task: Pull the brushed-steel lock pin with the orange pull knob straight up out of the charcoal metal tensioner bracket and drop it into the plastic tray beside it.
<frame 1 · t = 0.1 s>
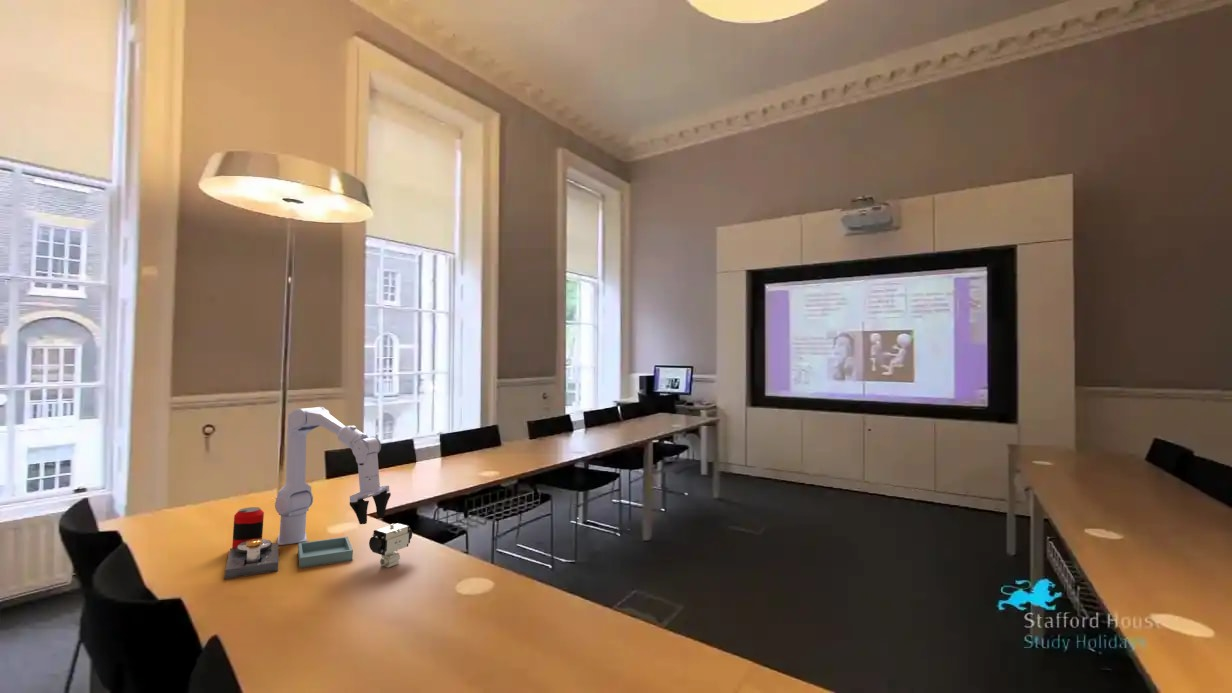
hand: (372, 520, 160), 11 cm above the table, tool pointing down, fingers open, 7 cm apart
soda can: (247, 549, 161), on the table
pneumatic valve: (390, 566, 153), on the table
tray: (324, 556, 157), on the table
lock pin: (252, 569, 146), resting in tensioner bracket
tensioner bracket: (253, 563, 150), on the table
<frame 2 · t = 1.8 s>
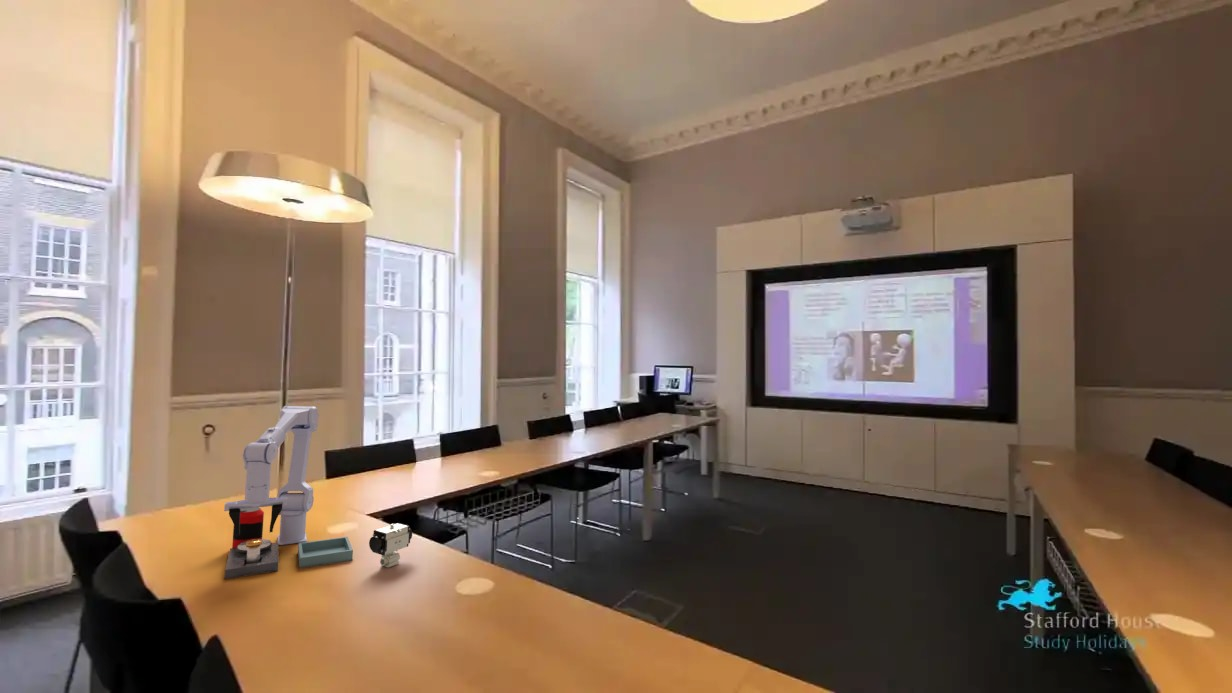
hand: (254, 533, 146), 10 cm above the table, tool pointing down, fingers open, 7 cm apart
nothing on the table moved.
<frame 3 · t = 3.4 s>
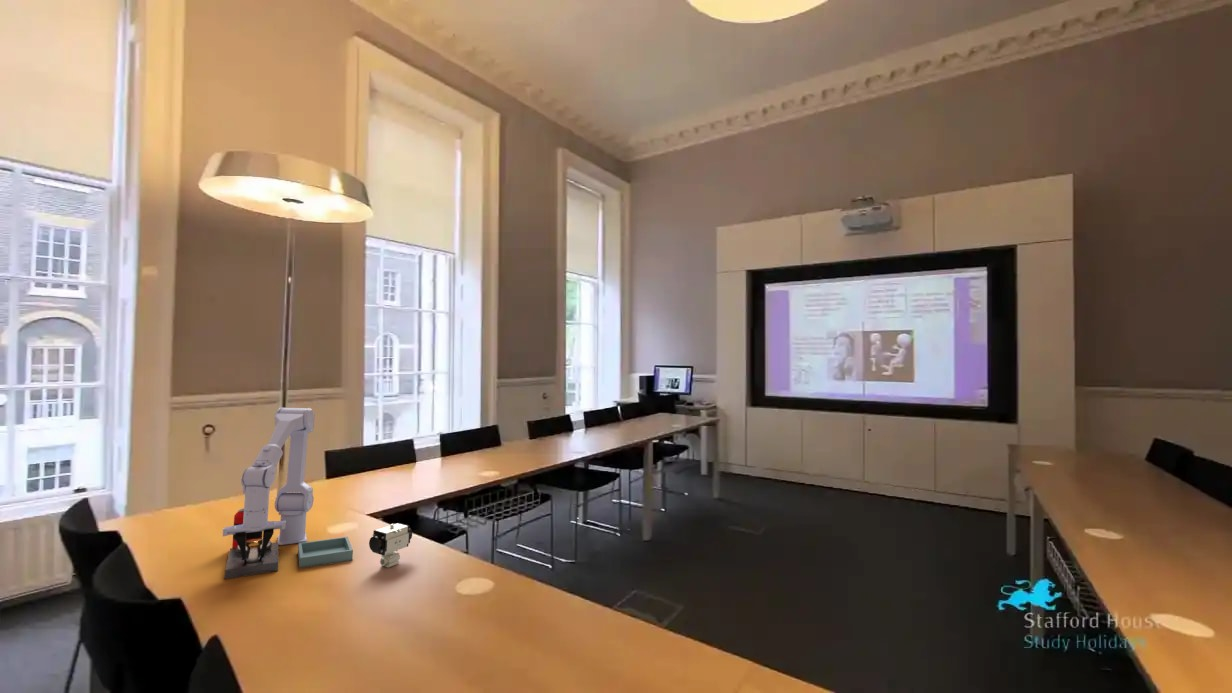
hand: (253, 557, 146), 3 cm above the table, tool pointing down, fingers closed on lock pin, 4 cm apart
lock pin: (252, 569, 146), resting in tensioner bracket, touching gripper
everything else where it was.
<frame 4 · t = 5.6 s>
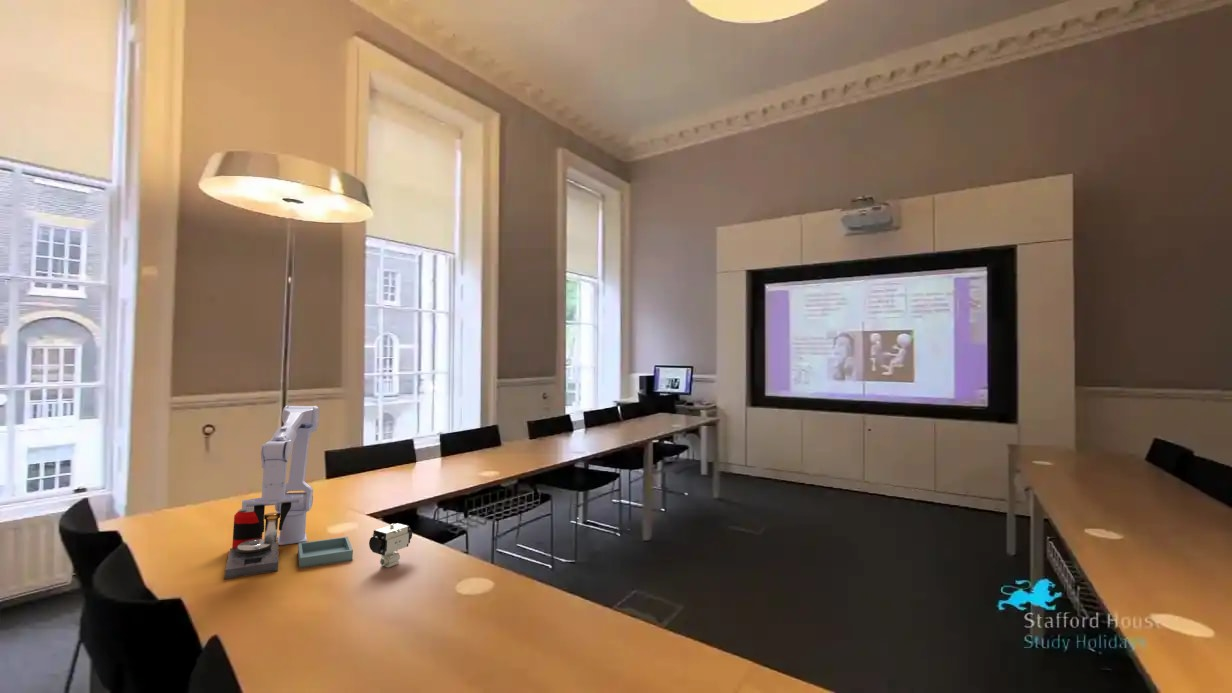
hand: (271, 530, 148), 10 cm above the table, tool pointing down, fingers closed on lock pin, 4 cm apart
lock pin: (270, 542, 148), point 7 cm above the table, touching gripper
everything else where it was.
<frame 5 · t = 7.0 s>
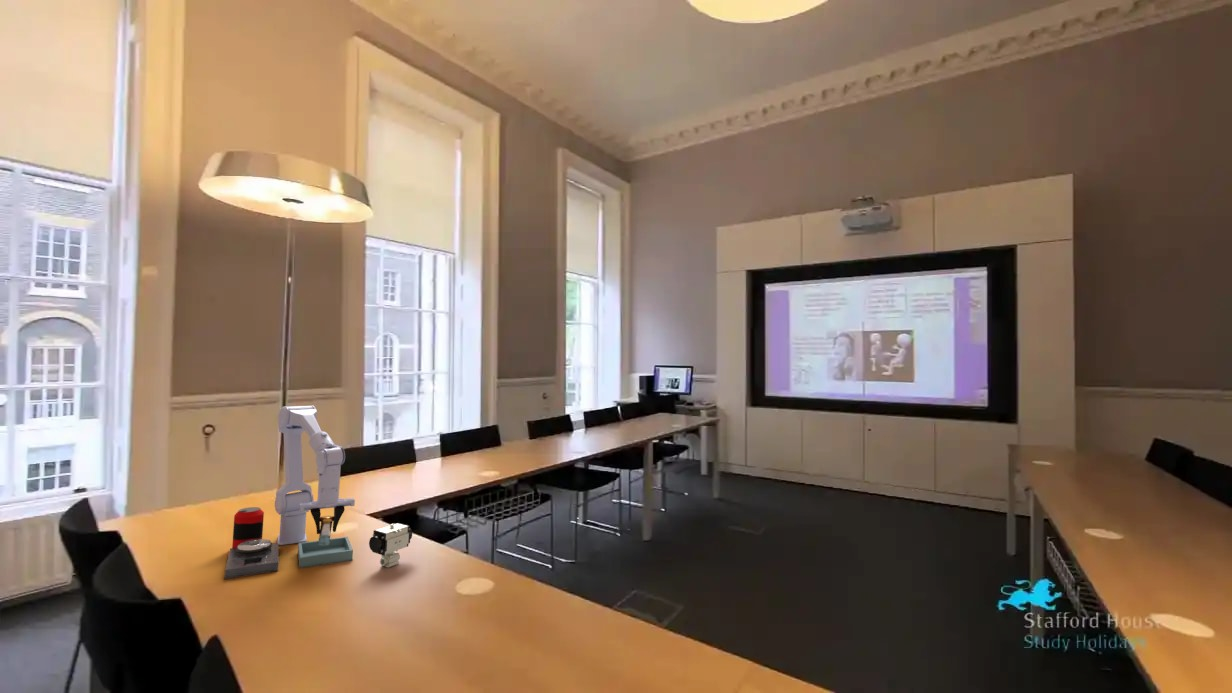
hand: (326, 532, 157), 7 cm above the table, tool pointing down, fingers closed on lock pin, 4 cm apart
lock pin: (323, 544, 157), point 4 cm above the table, touching gripper
everything else where it was.
when the fingers open (5 cm above the table, at t = 8.1 s): lock pin drops 1 cm, resting on tray.
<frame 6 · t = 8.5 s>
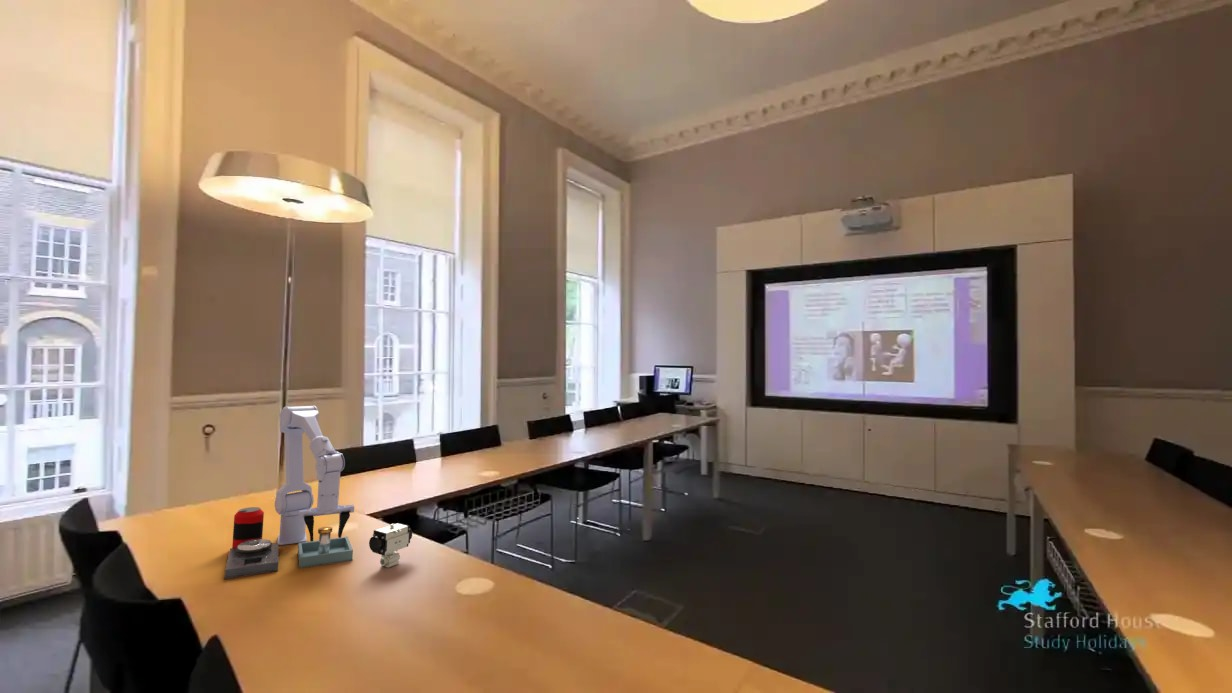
hand: (325, 538, 157), 5 cm above the table, tool pointing down, fingers open, 7 cm apart
lock pin: (323, 555, 157), resting on tray
everything else where it was.
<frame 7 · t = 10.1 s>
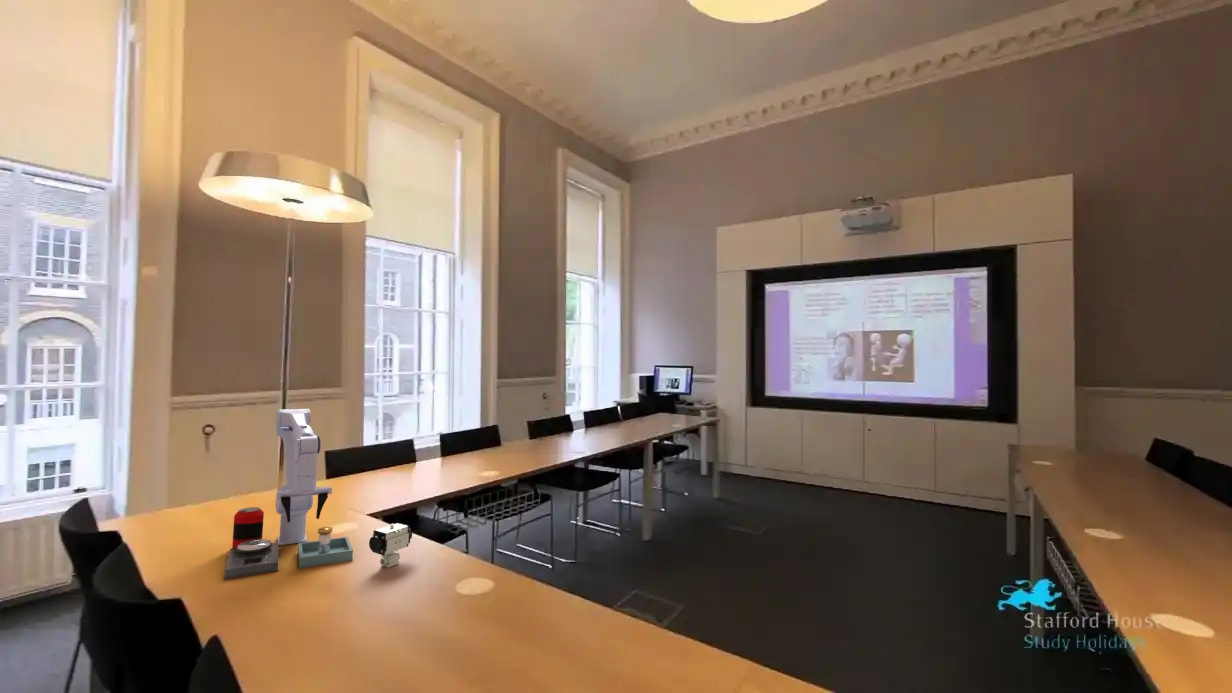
hand: (303, 519, 159), 10 cm above the table, tool pointing down, fingers open, 7 cm apart
nothing on the table moved.
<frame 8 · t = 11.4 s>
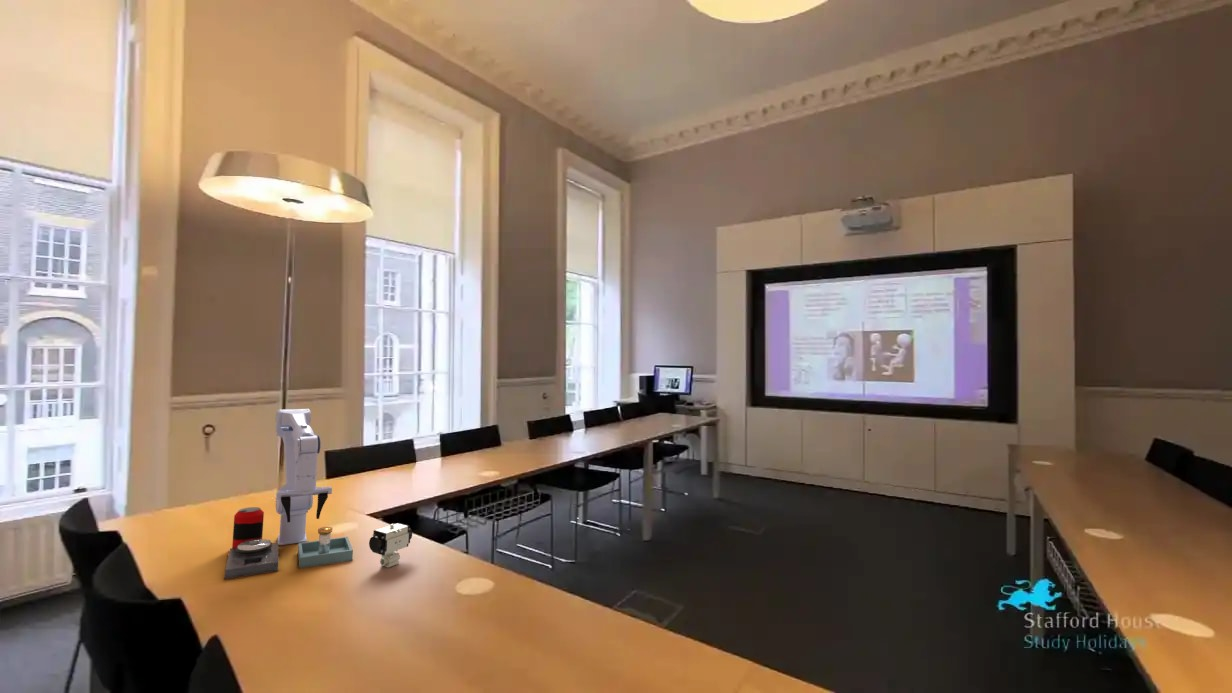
hand: (303, 519, 159), 10 cm above the table, tool pointing down, fingers open, 7 cm apart
nothing on the table moved.
at the end: lock pin inside the target area on the tray (0.3 cm from its centre), point 0.5 cm above the tray's base; the gripper is holding nothing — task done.
